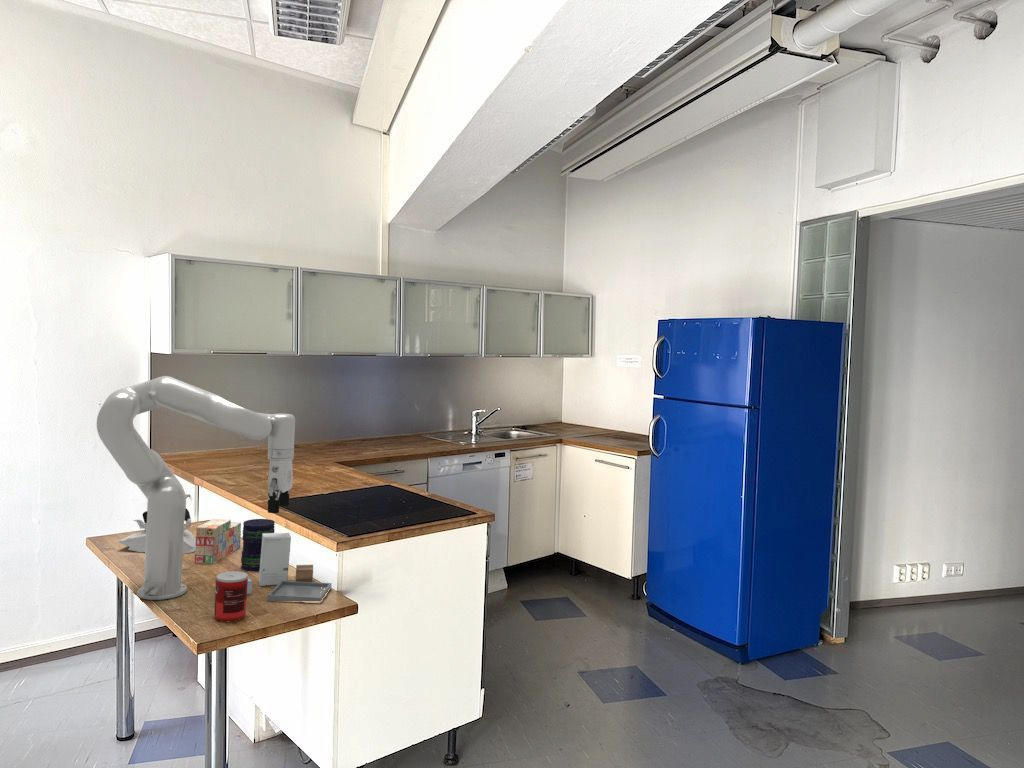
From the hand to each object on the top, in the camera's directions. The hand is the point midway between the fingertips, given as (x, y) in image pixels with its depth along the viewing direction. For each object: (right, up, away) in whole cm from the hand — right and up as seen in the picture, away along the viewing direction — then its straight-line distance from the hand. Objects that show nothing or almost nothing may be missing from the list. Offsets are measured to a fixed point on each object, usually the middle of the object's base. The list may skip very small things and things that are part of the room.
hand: (278, 509), depth 205 cm
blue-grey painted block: (-8, -23, -9) cm, 26 cm away
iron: (-51, -20, +28) cm, 61 cm away
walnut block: (+7, -23, +1) cm, 24 cm away
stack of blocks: (-29, -21, +25) cm, 44 cm away
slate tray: (+10, -23, -9) cm, 27 cm away
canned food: (-3, -23, -29) cm, 37 cm away
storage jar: (-12, -22, +14) cm, 29 cm away
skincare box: (-2, -23, 0) cm, 23 cm away
